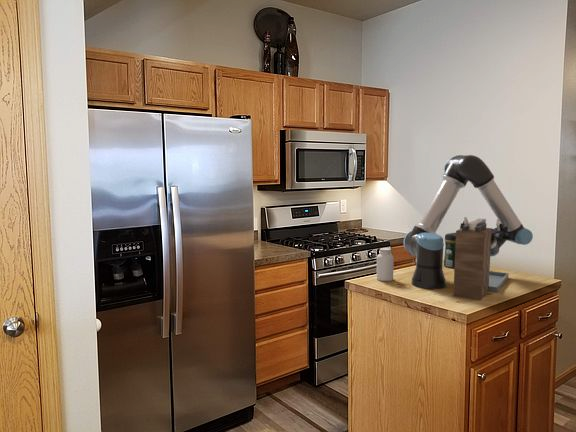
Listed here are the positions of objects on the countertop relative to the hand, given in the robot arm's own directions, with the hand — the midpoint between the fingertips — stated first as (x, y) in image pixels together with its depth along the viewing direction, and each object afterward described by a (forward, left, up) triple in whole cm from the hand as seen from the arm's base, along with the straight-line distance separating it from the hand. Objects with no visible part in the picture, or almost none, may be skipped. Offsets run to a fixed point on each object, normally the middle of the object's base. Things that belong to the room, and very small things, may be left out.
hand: (480, 220), depth 203 cm
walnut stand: (-4, -11, -31) cm, 33 cm away
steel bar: (-2, -5, -3) cm, 6 cm away
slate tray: (+4, +12, -31) cm, 33 cm away
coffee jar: (-6, +42, -31) cm, 53 cm away
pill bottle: (-41, +5, -31) cm, 52 cm away
